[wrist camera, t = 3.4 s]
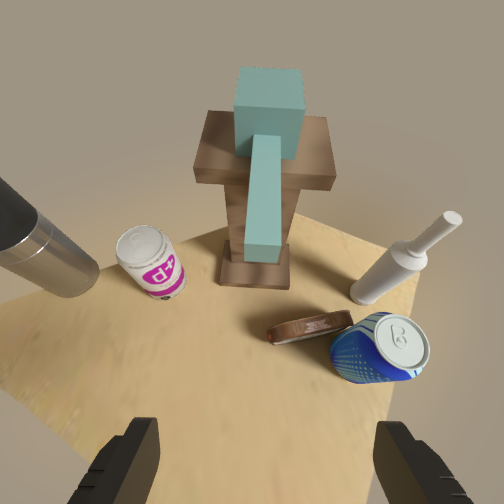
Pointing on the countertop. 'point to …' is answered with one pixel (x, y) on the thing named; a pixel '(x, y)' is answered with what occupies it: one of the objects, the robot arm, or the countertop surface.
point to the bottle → (401, 261)
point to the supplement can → (151, 261)
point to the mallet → (266, 149)
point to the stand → (237, 189)
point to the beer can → (380, 349)
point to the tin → (309, 327)
